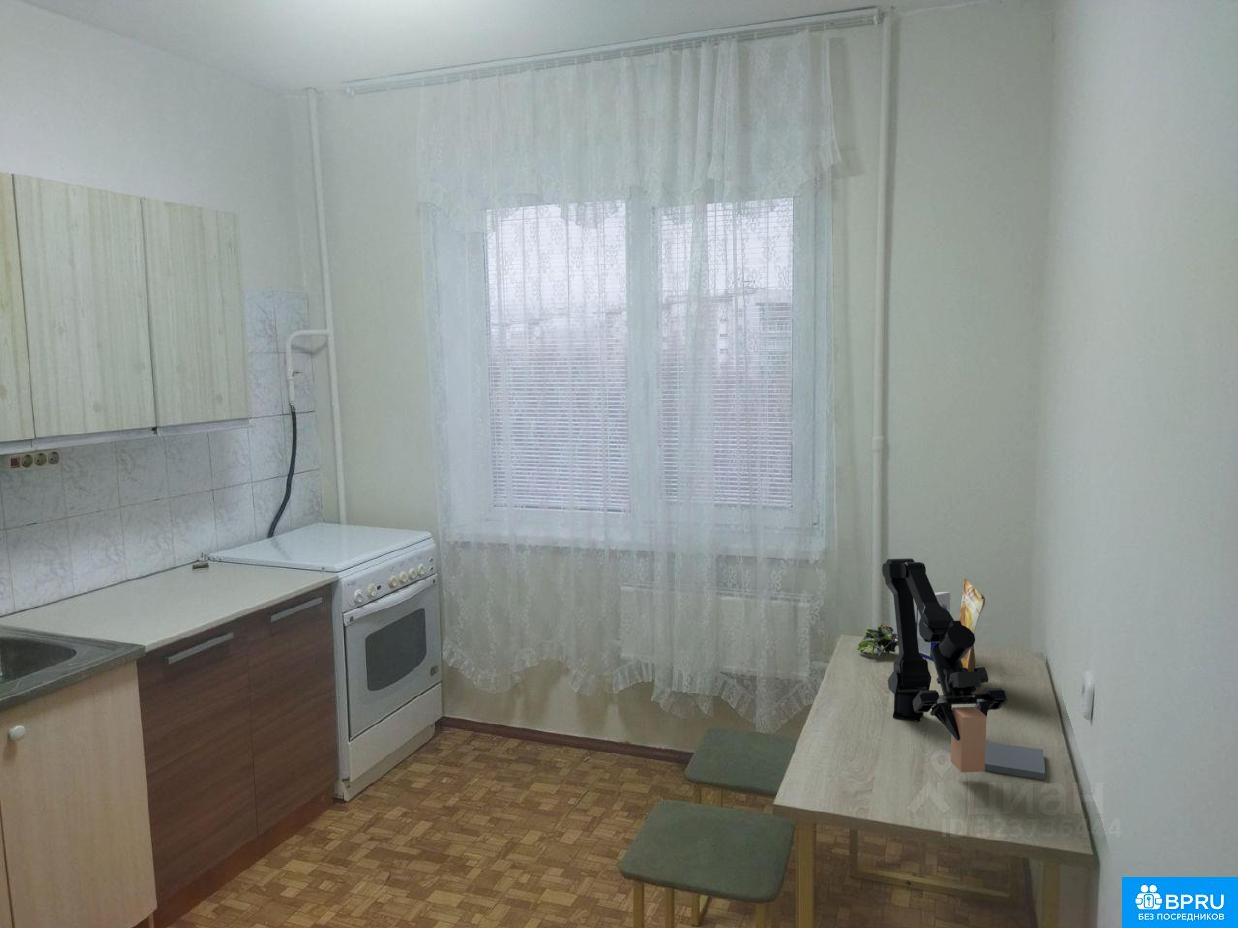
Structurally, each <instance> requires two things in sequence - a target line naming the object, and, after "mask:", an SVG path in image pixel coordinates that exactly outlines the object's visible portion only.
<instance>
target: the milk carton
mask: <svg viewBox="0 0 1238 928" xmlns="http://www.w3.org/2000/svg"><path fill="white" fill-rule="evenodd" d="M934 593H935V595H936V598H937V600H938V602H939V604H940V606H941V607H943V608H944V609H946V610H947V611H949V613H950V614H951V612H950V611H951V591H941V592H940V591H939V592H934ZM915 618H916V628H917V638H918V648H919V653H920V654H921V656H922V657H923V659H926V660H930V661H931V662H932V661H933V659H931V658H930V653H931V650H932V649H933V647H934V646H935V645H936V644H938V643H940V642H931V643H928V642H925V641H924V640H923V638H922V637H921V636H920V633H919V625H918V624H919V621H920V618H921V616H920V613H919V610H918V608H917V605H916V604H915ZM933 662H934V661H933Z"/></svg>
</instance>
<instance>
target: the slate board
mask: <svg viewBox="0 0 1238 928" xmlns="http://www.w3.org/2000/svg"><path fill="white" fill-rule="evenodd" d="M1045 765H1046V764H1045V755H1044V749H1041V748H1033V747H1028V746H1020V745H1014V744H1009V743H1008V744H1007V743H1001V742H995V741H994V742H993V741H988V740H986V744H985V771H986V770H988V771H987V772H992V771H993V773H999V774H1005V775H1010V776H1016V777H1023V778H1029V779H1036V780H1042V781H1045V780H1046V769H1045V767H1046V766H1045Z"/></svg>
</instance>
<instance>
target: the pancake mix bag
mask: <svg viewBox="0 0 1238 928" xmlns="http://www.w3.org/2000/svg"><path fill="white" fill-rule="evenodd" d="M961 581H962V593H961V594H962V595H961V603H960V610H959V617H958V620H957V621H961V624H962V625H963V626H966V627H967V628H969V629H970V630H971V631H972V633H974V634H975V632H976V628H977V624H978V622H979V618H980V616H981V614H982V611H983V610H984V607H985V604H986V598H985V596H984V595H983V594H982V593H981V592H980V591H979V589H977V588H976V587H975V585H974V584H973V583H972V582H970V581H969V579H967V578H966V577H965V578H962V579H961ZM961 660H962V663H963V667H964V668H967V669H968V672H974V668H976V653H975V646H974V645H973V646H972V647H971V649H970V650H969V651H968V653H967V654H966V655H965V657H964V658H962V659H961Z"/></svg>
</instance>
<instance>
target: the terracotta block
mask: <svg viewBox="0 0 1238 928" xmlns="http://www.w3.org/2000/svg"><path fill="white" fill-rule="evenodd" d="M952 713H953V716H954V719H955V722H956V725H957V728H958V731H959V735H960V740H959V741H957V740H956V739H955V738H954V736H953V735H952V734H951V733H950V734H951V735H950V737H951V738H950V739H951V740H950V763H952V765H953V766H954V767H955V768H956V769H957V770H958V771H959V772H960V773H961V774H962V773H978V772H979V773H982V772H985V771H986V770H985V744H986V741H987V740H986V739H987V737H986V736H987V719H988V717H987V716H988V715H987V716H985V715H984V714H983V713H982V712H981V711H980V710H979V709H977V708H976V707H974V706H961V707H959V706H957V707H956V706H953V707H952ZM986 718H987V719H986Z"/></svg>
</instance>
